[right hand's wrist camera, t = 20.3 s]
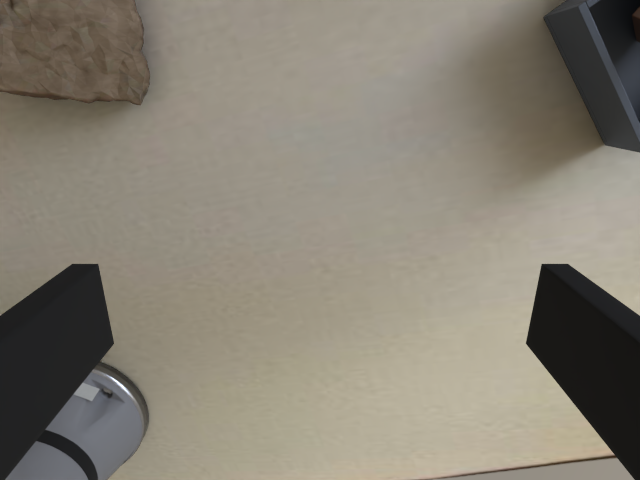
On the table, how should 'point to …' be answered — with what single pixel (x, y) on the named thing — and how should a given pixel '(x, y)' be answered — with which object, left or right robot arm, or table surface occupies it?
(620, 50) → the grey box
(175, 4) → the table surface
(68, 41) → the stone
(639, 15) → the walnut block
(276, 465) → the table surface
